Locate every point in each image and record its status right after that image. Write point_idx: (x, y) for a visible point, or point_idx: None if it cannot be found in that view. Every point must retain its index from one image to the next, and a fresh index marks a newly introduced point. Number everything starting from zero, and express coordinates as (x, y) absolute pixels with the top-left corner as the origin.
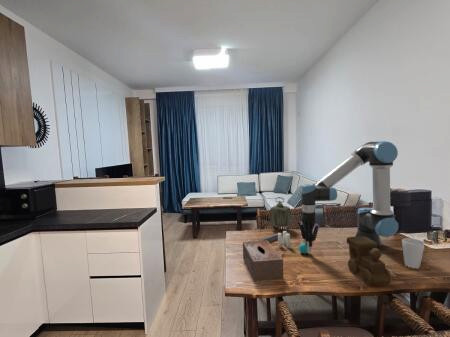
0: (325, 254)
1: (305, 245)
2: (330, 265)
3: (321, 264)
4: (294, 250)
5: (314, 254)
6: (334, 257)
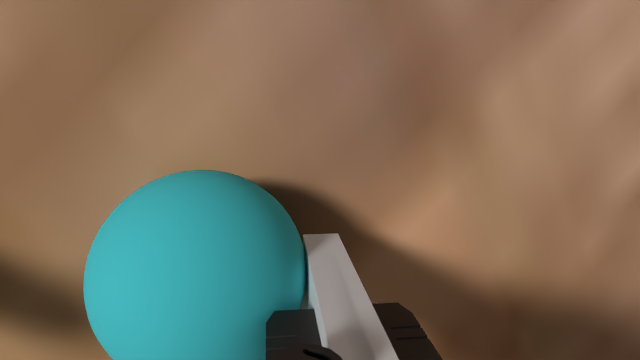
0: (477, 31)
1: (254, 353)
2: (630, 301)
3: (545, 352)
4: (21, 253)
5: (351, 157)
6: (612, 43)
